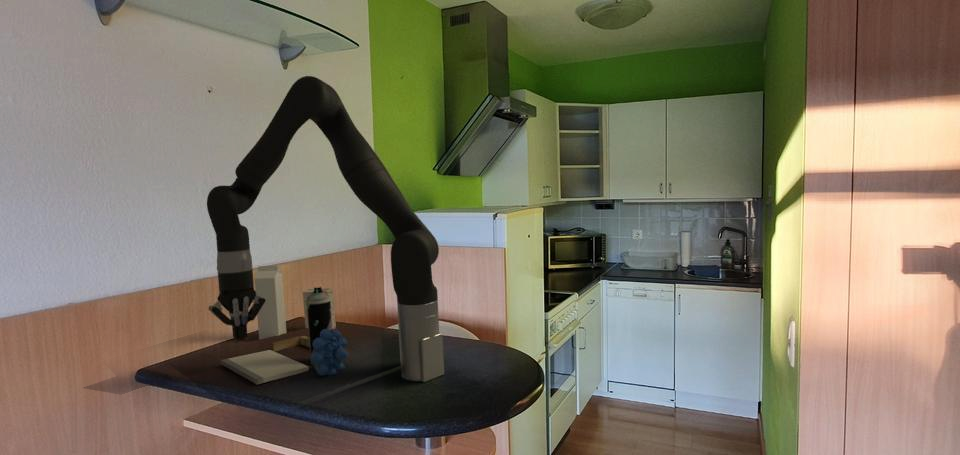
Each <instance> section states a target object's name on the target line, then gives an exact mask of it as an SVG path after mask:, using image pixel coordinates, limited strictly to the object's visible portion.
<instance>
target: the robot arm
mask: <svg viewBox="0 0 960 455" xmlns="http://www.w3.org/2000/svg"><path fill="white" fill-rule="evenodd" d="M350 116H351V115H350V114H349V113H348V111H347V108H346V107H345V105H344V103H343V101H342V98H341V97H340V96H339V94H338V92H337V91H336V90H335V88H334V87H332V85H330V84H328V83H326V82H325V81H323V80H321V79H320V78H318V77H316V76H312V75H306V76H302V77H299V78H298V79H297V80H296V81H295V82H294V83H293V84H292V85H291V87H290V88H289V89H288V92H287V93H286V95H285V96H284V99H283V100H282V102H281V104H280V105H279V107H278V109H277V111H276V113H274V115H273V117H272V119H271V121H270V122H269V124H268V125H267V127H266V128H265V130H264V132H263V133H262V135H261V137H259V139H258V140H257V141H256V143H255V144H254V146H253V147H252V148H251V149H250V150H249V151H248V153H247V154H246V155H245V156H244V158H242V160H241V161H240V162H239V163H238V165H237V167H236V168H235V171H234V173H235V176H236V178H235V180H234V182H232V184H231V185H218V186H214V187H213V188H212V189H210V191H209V193H208V194H207V198H206V208H207V209H206V210H207V212H208V216H209V219H210V221H211V222H210V223H211V225H212V227H213V230H214V233H215V236H216V237H215V240H216V251H217V252H216V253H217V254H216V271H217V279H218V280H217V282H218V291H219V292H218V293H219V294H218V297H217V301H216V302H215V303H214V304H213V305H209V306H208V311H210V312H211V313H212V315H213V316H215V317H216V318H217V319H218V320H220V321H221V322H222V323H223V324H225V325H227V326H231V327H232V328H231V329H232V337H233V339H235V341H237V342H243V341H246V338H247V337H248V326H247V325H248V323H249V322H251V321H252V322H253V321H254V320H255V319H256V317H257V314H258V312H259V311H260V309H261V308H262V306H263V304H264V303H265V301H266V300H265V299H264V298H262V297H259V296H257V295H256V291H255V281H254V271H253V270H254V269H253V261H252V260H253V259H252V253H251V249H250V248H251V246H250V233H249V230H248V227H246V226H244V225H243V224H241V221H240V218H239V215H242V214H244V213H245V212H247V211H248V210H250V209H251V207H252V206H253V205H254V204H255V202H256V200H257V198H258V197H259V194H260V192H261V190H262V188H263V186H264V185H265V184H266V183H267V182H268V180H269V179H270V178H271V177H272V176H273V174H274V173H275V172H276V171H277V169H278V168H279V167H280V165H281V164H282V162H283V160H284V159H285V157H286V154H287V151H288V149H289V145H290V143H291V142H292V139H293V138H294V136H295V135H296V133H297V132H298V131H299V129H300V128H302V126H303V125H304V124H306V123H307V122H308V121H309V120H310V121H312V122H313V123H314V124H315V125H316V126H317V127H318V129H319V130H320V131H321V132H322V134H323V135H324V136H325V138H326V139H327V140H328V142H329V143H330V145H331V148H332V149H333V152H334V156H335V160H336V163H337V166H338V168H339V170H340V173H341V175H342V177H343V178H344V180H345V181H346V183H347V184H348V187H349V188H350V189H351V190H352V192H353V194H354V195H355V196H356V198H358V200H359V201H360V202H361V203H362V204H363V205H364V206H366V207H367V208H368V209H369V210H370V211H371V212H372V213H373V214H374V215H376V216H377V217H378V218H379V219H380V220H381V221H382V222H383V223H384V224H385V225H386V226H387V228H388V229H389V231H390V232H391V234H392V236H393V238H394V240H393V242H392V244H391V247H390V248H391V249H390V265H391V278H392V286H393V290H394V292H395V296H396V302H397V305H396V306H397V321H398V322H397V323H398V341H399V342H398V344H399V357H400V376H401V378H403V379H404V380H407V381H412V382H422V383H425V382H428V381H430V380H434V379H436V378H438V377H440V376H442V375H445V365H444V364H445V363H444V342H443V341H444V340H443V339H444V338H443V334H442V333H440V322H439V321H440V319H439V318H440V317H439V301H438V298H439V297H438V295H439V294H438V289H437V287H436V286H435V285H434V283H433V282H434V281H433V272H432V266H433V264H435V263H436V261H437V260H438V258H439V253H440V252H439V250H440V248H439V243H438V241H437V239H436V238H435V236H434V234H432V232H431V231H430V230H429V228H428V227H427V226H426V224H424V222H423V221H422V220H421V219H420V218H419V216H418V215H417V213H416V212H414V210H413V209H412V207H411V206H410V204H409V203H408V201H407V199H406V198H405V196H404V194H403V193H402V191H401V190H400V188H399V187H398V185H397V184H396V182H395V180H394V179H393V178H392V175H391V174H390V172H389V171H388V169H387V168H386V166H385V165H384V163H383V162H382V160H381V158H380V157H379V156H378V154H377V153H376V152H375V151H374V149H373V148H372V146H371V145H370V144H369V142H368V141H367V140H366V138H365V136H363V134H362V133H361V132H360V131H359V130H358V128H357V127H356V125H355V123H354V122H353V120H352V118H351V117H350ZM252 303H253V304H252ZM251 305H252V306H251ZM250 307H251V308H250ZM223 308H224V309H225V310H227V312H228V315H229V317H228V316H227V315H226V314H224V313H223Z"/></svg>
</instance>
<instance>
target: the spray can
mask: <svg viewBox="0 0 960 455" xmlns="http://www.w3.org/2000/svg"><path fill="white" fill-rule="evenodd" d="M313 289H314V291H313V293H312V295H310V296H309V297H308V298H307V313H308V328H307V329H308V337H309V342H310V347H309V353H310V357H311V355H312V354H313V353H314V352H315V351H317V350H315V349H314V347H313V341H314V340H315V339H316V338H320V332H321V331H322V330H323V329H328V330H332V318H331V303H330V298H329V297H330V296H329V295H327V294H325V293H324V291H323V290H322V289H323V288H322V286H320V287H319V286H318V287H313ZM310 365H313V366H314V363H313V362H312V360H311V359H310Z"/></svg>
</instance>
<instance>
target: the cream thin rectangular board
mask: <svg viewBox="0 0 960 455" xmlns="http://www.w3.org/2000/svg"><path fill="white" fill-rule="evenodd" d="M220 364H221V365H222V366H224V367H225V368H227V369H229V370H230V371H232V372H234V373H236V374H238V375H239V376H241V377H243V378H244V379H247V380H248V381H250V382H252V383H253V384H255V385H261V384H264V383H267V382H271V381H276V380H279V379H283V378H287V377H290V376H294V375H298V374H301V373H305V372H308V371H309V370H310V366H308V365H307V364H306V365H305V364H304V363H301V362H299V361H296V360H294V359H292V358H290V357H287V356H285V355H284V354H283V355H282V354H280V353H279V352H277V351H272V349H268V350H263V351H262V350H261V351H258V352H252V353H249V354H244V355H243V354H242V355H239V356H234V357H230V358H224V359H221V362H220Z"/></svg>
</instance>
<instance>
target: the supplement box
mask: <svg viewBox="0 0 960 455" xmlns="http://www.w3.org/2000/svg"><path fill="white" fill-rule="evenodd" d="M321 289H322V290H323V291H324V293H325V294H327V295H329V296H330V297H329V298H330V303H331V318H332V329H337V325H336V312H335V301H334V300H335V298H334V297H335V296H334V288H332V287H329V288H321ZM313 291H314V288H307V289H305V290H304V291H302V299H303V302H302V303H303V313H304V314H303V315H304V324H305V329H309V328H308V313H307V298H308V297H309V296H310V295H312V293H313Z"/></svg>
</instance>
